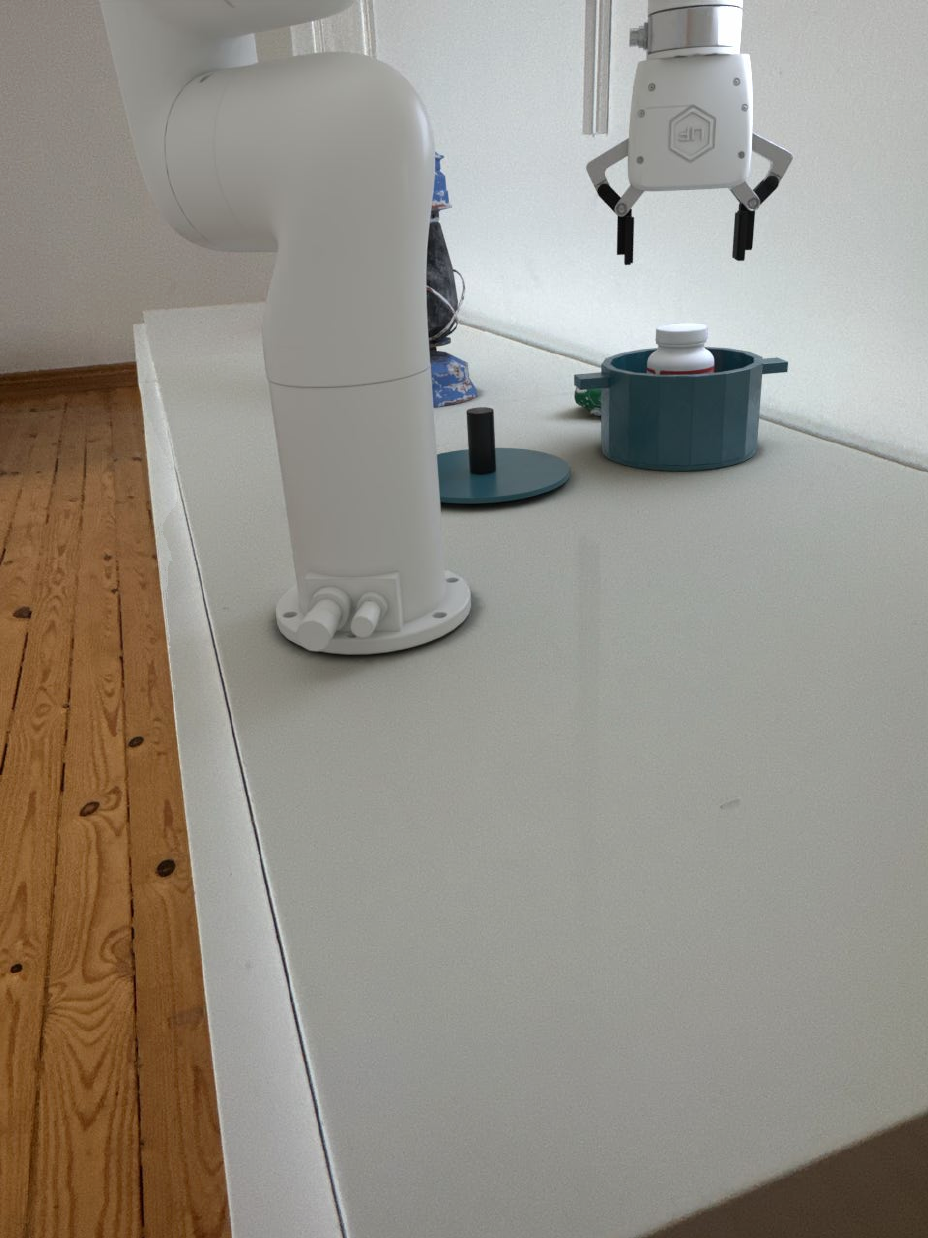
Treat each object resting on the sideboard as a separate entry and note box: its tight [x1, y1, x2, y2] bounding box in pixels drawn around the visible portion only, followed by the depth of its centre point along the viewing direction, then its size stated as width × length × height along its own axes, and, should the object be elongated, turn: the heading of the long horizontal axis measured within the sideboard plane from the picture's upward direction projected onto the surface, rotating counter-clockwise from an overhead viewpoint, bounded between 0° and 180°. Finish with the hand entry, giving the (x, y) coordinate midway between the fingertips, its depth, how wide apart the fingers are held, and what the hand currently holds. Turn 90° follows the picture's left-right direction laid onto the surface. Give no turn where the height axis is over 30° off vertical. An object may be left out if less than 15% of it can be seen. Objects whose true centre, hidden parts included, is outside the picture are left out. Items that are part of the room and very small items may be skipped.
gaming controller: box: [573, 386, 601, 416], centre depth 107 cm, size 9×4×6 cm
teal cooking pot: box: [573, 346, 789, 472], centre depth 92 cm, size 15×20×8 cm
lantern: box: [426, 150, 478, 408], centre depth 116 cm, size 15×12×30 cm
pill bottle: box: [647, 323, 714, 375], centre depth 91 cm, size 6×6×11 cm
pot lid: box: [437, 406, 571, 505], centre depth 86 cm, size 16×16×7 cm
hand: (682, 261), depth 86 cm, fingers open, 9 cm apart
